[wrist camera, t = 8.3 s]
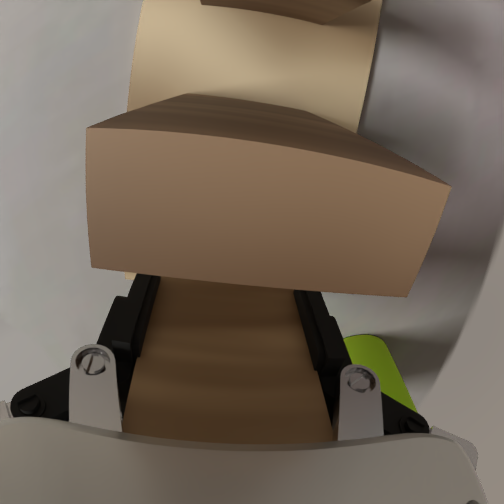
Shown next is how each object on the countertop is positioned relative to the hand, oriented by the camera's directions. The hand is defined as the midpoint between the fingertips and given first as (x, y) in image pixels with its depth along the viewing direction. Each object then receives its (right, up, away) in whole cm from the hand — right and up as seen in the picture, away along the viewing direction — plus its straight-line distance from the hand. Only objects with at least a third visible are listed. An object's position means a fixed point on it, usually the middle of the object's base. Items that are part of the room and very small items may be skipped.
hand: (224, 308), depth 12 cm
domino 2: (+1, +7, +1) cm, 7 cm away
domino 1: (0, +1, +3) cm, 3 cm away
